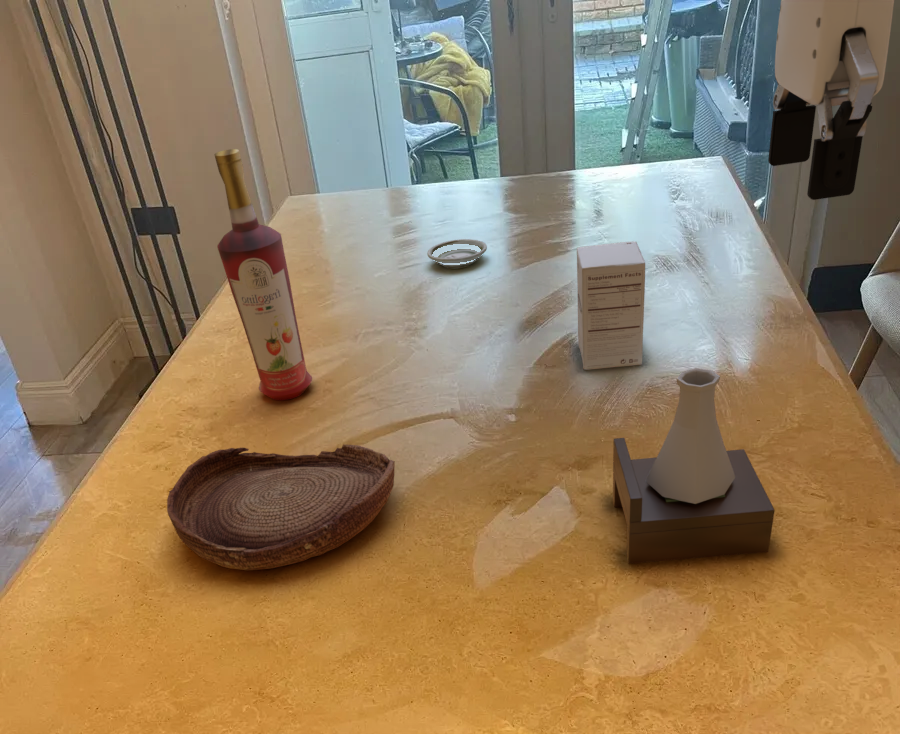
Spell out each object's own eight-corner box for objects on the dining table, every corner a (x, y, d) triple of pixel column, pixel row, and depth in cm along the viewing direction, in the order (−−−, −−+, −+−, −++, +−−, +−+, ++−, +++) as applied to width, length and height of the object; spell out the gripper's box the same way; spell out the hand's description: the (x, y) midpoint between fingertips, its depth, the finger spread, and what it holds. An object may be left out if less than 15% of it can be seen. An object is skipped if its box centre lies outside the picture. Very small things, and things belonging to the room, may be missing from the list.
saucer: (500, 259, 137) (499, 244, 136) (456, 278, 133) (454, 262, 131) (460, 249, 143) (458, 234, 142) (417, 267, 139) (415, 252, 137)
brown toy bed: (738, 489, 81) (747, 425, 77) (768, 552, 73) (779, 485, 69) (612, 501, 82) (613, 438, 78) (628, 564, 74) (630, 498, 70)
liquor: (315, 375, 112) (261, 140, 94) (317, 400, 106) (260, 154, 88) (260, 384, 111) (195, 150, 93) (259, 410, 106) (189, 165, 88)
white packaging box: (577, 346, 109) (575, 245, 101) (635, 340, 109) (638, 239, 100) (581, 371, 104) (580, 267, 96) (643, 366, 103) (647, 260, 95)
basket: (392, 450, 94) (385, 410, 91) (411, 557, 79) (403, 513, 76) (191, 485, 93) (176, 446, 90) (170, 600, 78) (152, 557, 75)
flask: (696, 515, 71) (706, 407, 64) (630, 484, 75) (633, 380, 69) (750, 479, 74) (764, 373, 68) (683, 451, 79) (690, 349, 72)
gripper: (965, -111, 49) (903, 203, 60) (853, -113, 62) (819, 145, 73) (831, -89, 49) (794, 219, 60) (748, -95, 62) (730, 158, 73)
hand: (807, 178), depth 66 cm, fingers open, 9 cm apart
